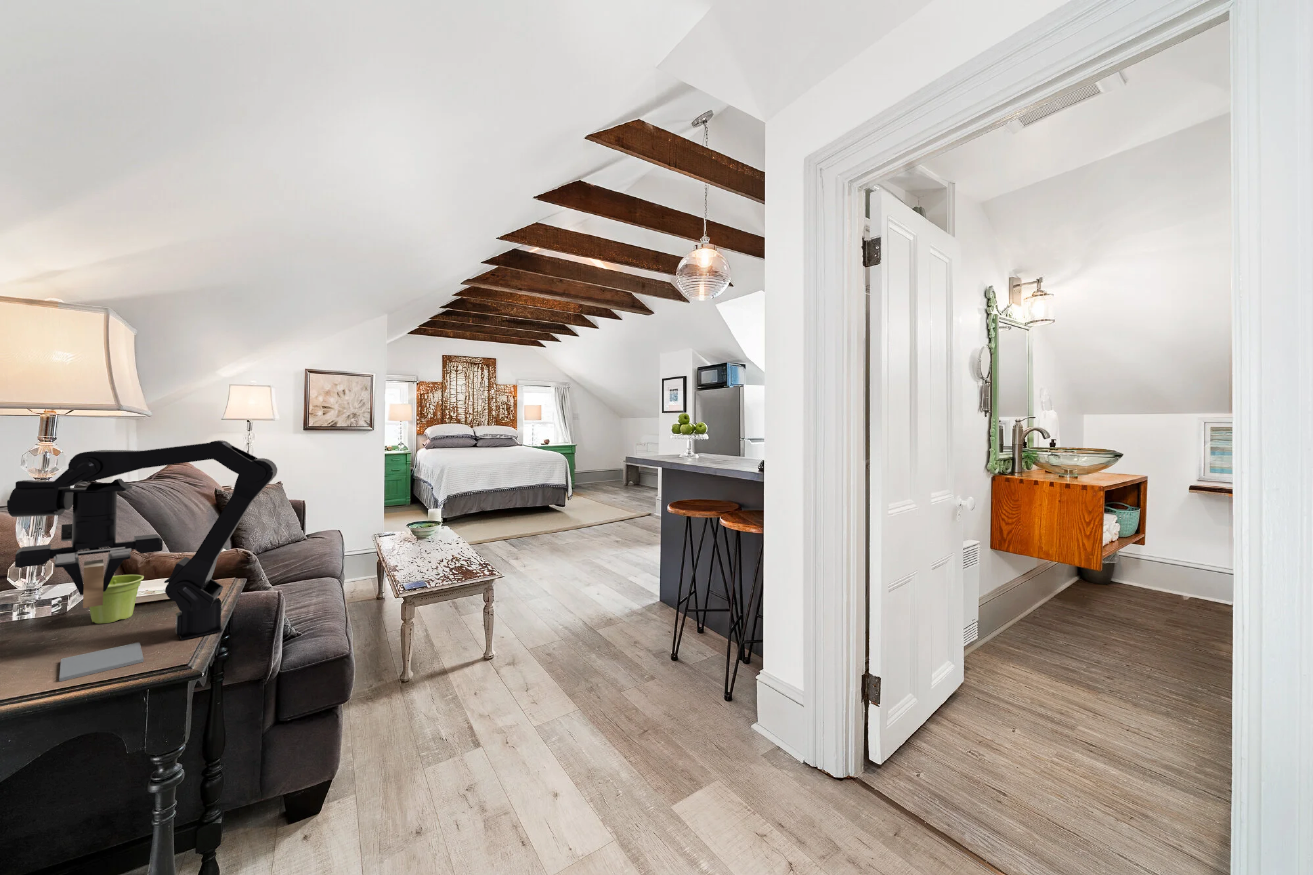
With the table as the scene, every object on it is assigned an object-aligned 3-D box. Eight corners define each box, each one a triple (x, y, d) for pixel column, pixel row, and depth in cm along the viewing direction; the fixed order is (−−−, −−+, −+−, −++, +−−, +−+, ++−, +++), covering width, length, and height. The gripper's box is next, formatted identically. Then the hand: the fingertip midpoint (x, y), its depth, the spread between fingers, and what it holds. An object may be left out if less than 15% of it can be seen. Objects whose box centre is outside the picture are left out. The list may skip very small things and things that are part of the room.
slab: (102, 598, 99) (103, 559, 99) (102, 604, 96) (103, 564, 96) (83, 601, 97) (84, 561, 97) (83, 608, 94) (84, 566, 94)
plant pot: (94, 614, 112) (95, 576, 112) (150, 608, 116) (151, 572, 116) (69, 629, 104) (70, 589, 103) (131, 623, 108) (131, 584, 108)
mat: (139, 645, 98) (139, 642, 98) (143, 661, 92) (143, 658, 92) (60, 661, 90) (61, 658, 90) (59, 681, 84) (59, 678, 84)
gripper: (158, 504, 108) (156, 574, 109) (20, 513, 94) (19, 593, 94) (163, 511, 101) (161, 586, 102) (15, 522, 87) (13, 608, 87)
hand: (93, 592), depth 96 cm, fingers closed on slab, 2 cm apart
